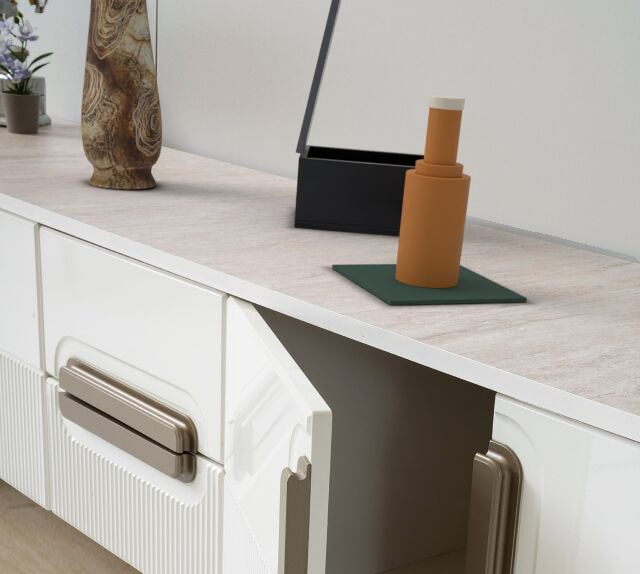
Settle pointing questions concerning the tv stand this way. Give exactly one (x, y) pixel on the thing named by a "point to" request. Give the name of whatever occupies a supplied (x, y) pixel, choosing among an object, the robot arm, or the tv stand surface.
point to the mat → (397, 293)
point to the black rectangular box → (351, 189)
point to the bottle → (435, 203)
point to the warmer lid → (318, 75)
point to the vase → (120, 96)
